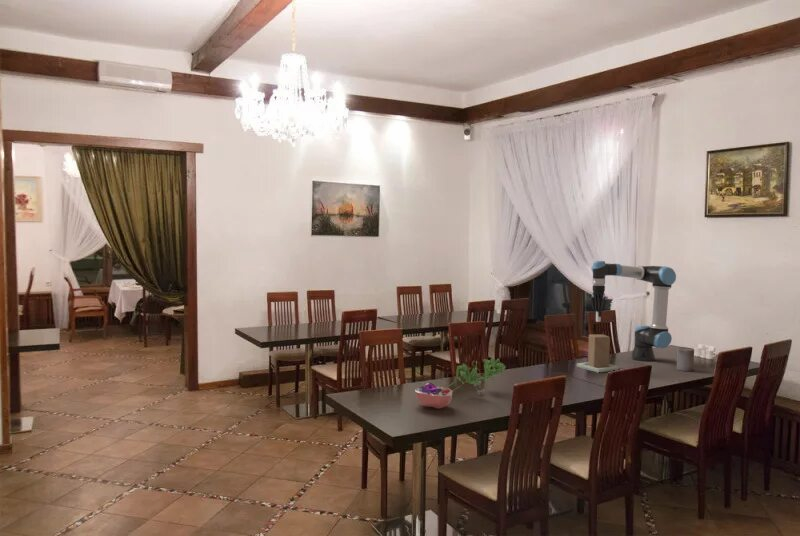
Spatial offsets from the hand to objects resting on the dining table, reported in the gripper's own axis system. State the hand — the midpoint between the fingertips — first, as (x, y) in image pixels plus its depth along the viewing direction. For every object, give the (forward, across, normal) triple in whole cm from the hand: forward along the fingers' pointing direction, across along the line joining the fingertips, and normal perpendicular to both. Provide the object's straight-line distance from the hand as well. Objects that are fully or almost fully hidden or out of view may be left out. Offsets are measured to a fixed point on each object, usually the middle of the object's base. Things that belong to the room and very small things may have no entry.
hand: (598, 321), depth 377 cm
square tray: (+29, +4, -4) cm, 30 cm away
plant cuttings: (+28, +15, -110) cm, 115 cm away
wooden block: (+29, +4, -4) cm, 29 cm away
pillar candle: (+31, +32, +43) cm, 62 cm away
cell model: (+27, +28, -144) cm, 149 cm away
